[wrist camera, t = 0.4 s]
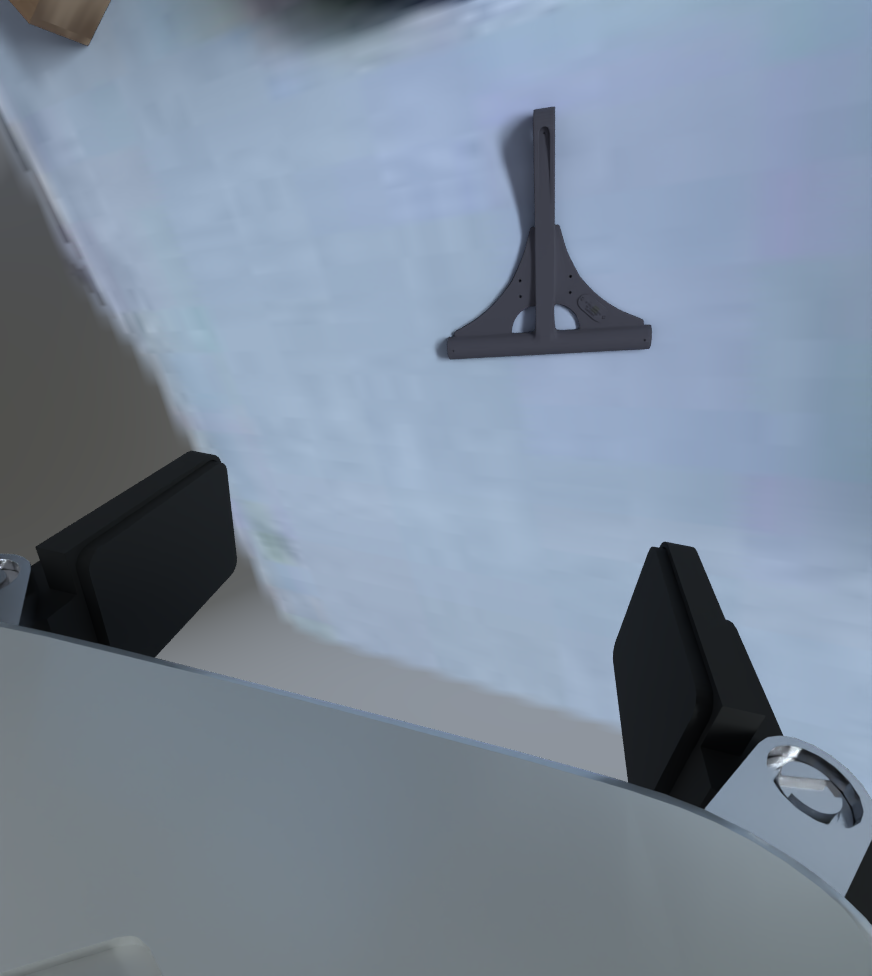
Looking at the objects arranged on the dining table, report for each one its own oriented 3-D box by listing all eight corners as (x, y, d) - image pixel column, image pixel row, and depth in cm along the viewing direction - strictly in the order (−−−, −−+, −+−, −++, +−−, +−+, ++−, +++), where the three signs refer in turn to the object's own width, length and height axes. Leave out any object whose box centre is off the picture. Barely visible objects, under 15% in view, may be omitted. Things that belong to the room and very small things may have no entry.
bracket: (668, 93, 30) (677, 81, 28) (647, 346, 37) (653, 354, 35) (433, 130, 34) (423, 123, 31) (452, 356, 40) (445, 364, 38)
